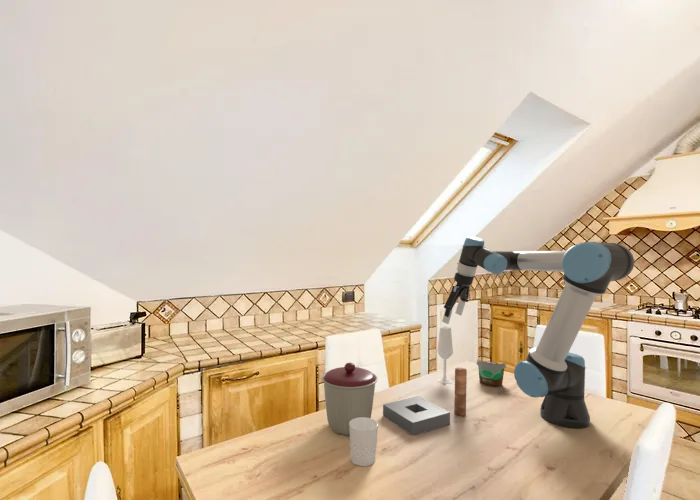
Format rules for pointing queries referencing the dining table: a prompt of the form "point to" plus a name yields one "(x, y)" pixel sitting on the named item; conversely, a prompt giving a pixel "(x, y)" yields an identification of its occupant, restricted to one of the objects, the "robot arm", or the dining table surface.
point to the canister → (348, 395)
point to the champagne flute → (445, 350)
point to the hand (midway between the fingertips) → (452, 318)
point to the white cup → (363, 440)
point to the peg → (460, 392)
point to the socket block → (416, 415)
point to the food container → (491, 373)
